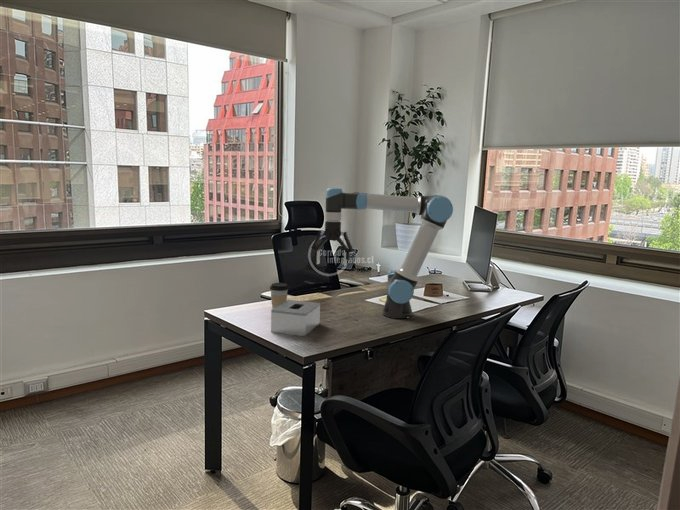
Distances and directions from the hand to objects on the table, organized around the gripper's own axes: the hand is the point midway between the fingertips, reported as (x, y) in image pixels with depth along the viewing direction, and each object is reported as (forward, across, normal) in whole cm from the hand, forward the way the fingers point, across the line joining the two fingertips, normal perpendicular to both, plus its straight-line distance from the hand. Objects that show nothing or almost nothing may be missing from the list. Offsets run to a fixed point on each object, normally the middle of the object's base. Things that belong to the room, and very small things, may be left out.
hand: (331, 265), depth 237 cm
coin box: (+27, +10, +20) cm, 35 cm away
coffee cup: (+27, +26, +2) cm, 37 cm away
